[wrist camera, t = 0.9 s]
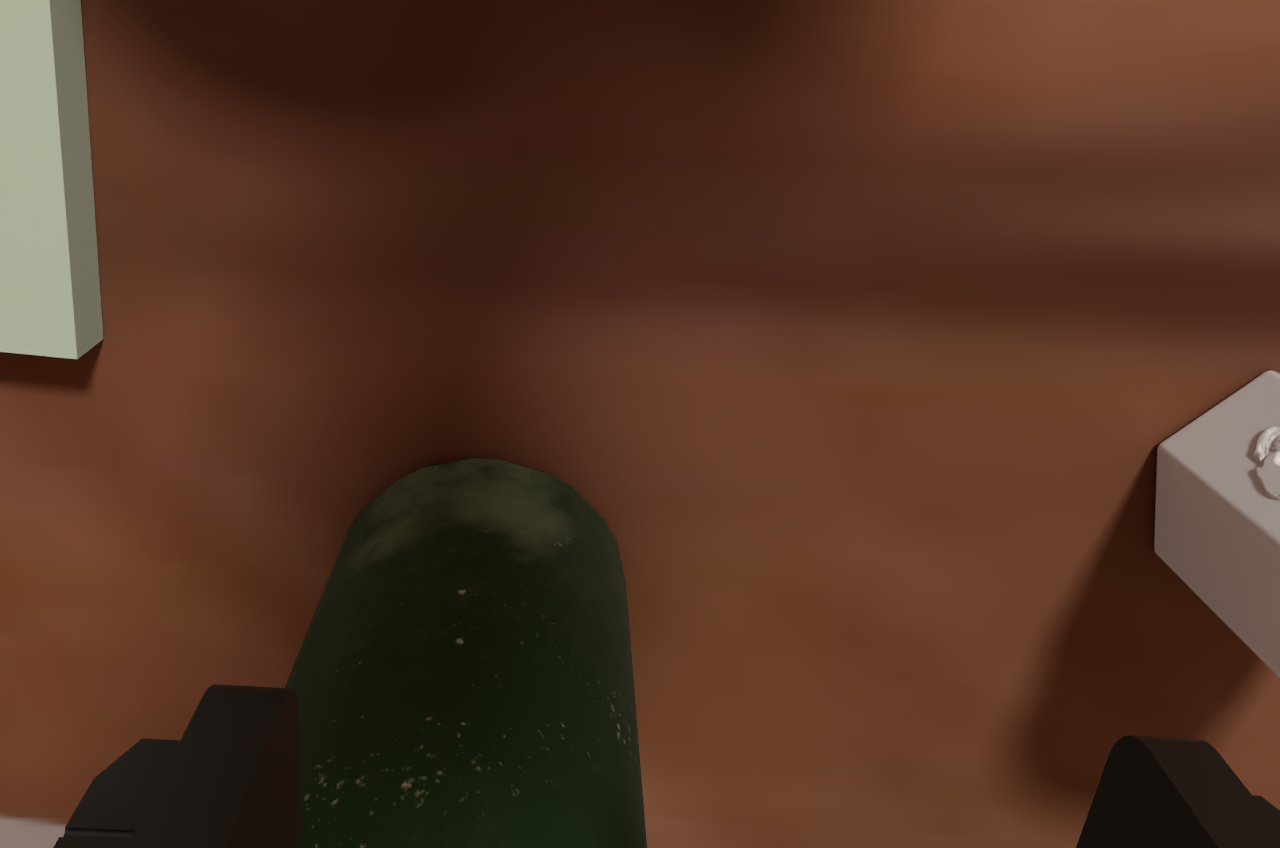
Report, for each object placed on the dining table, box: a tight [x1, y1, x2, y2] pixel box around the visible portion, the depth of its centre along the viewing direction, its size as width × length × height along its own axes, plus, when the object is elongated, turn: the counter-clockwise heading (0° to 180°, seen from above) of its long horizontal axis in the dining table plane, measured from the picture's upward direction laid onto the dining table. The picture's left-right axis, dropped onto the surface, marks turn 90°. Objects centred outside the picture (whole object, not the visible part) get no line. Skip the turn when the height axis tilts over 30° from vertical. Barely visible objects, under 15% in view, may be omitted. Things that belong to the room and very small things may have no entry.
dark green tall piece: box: [285, 458, 647, 848], centre depth 28 cm, size 10×10×25 cm
